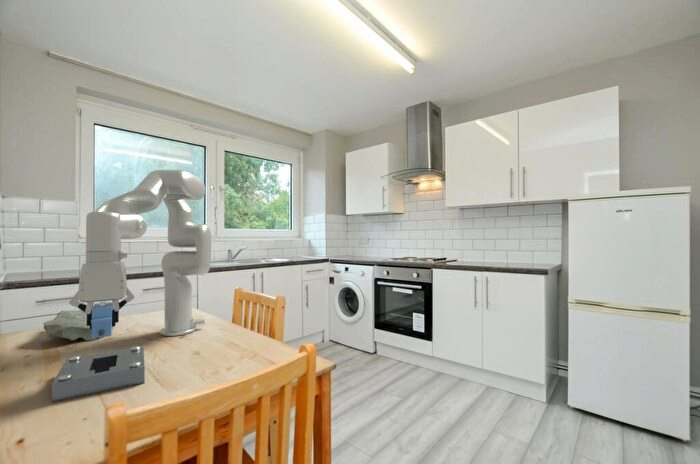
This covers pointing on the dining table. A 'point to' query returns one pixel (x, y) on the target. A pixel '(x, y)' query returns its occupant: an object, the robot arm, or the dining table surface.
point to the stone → (69, 326)
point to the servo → (102, 319)
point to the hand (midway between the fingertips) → (103, 326)
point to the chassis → (99, 373)
